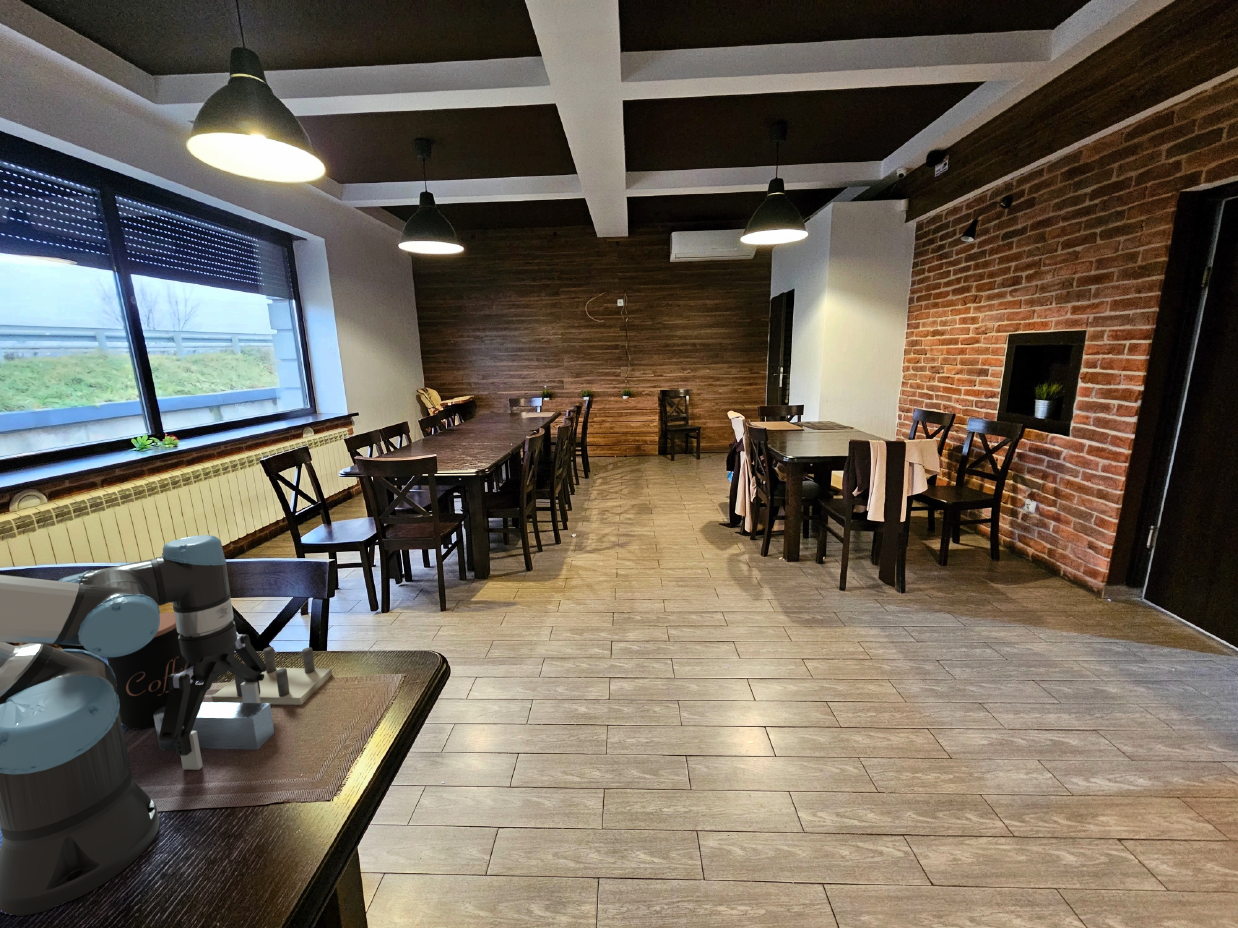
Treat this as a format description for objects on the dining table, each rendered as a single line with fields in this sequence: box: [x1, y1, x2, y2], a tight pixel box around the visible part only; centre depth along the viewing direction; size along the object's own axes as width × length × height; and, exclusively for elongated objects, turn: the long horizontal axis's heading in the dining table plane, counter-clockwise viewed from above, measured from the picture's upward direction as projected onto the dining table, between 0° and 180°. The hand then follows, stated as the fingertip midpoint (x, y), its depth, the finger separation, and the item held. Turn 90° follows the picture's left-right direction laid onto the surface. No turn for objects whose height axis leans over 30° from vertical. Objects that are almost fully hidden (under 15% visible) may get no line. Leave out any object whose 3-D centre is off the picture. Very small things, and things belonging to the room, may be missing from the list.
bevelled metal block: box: [154, 701, 275, 751], centre depth 88 cm, size 19×5×6 cm, turn 88°
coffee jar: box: [106, 612, 187, 730], centre depth 95 cm, size 11×11×18 cm
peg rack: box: [211, 646, 333, 706], centre depth 103 cm, size 10×18×6 cm, turn 87°
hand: (225, 739), depth 89 cm, fingers open, 12 cm apart
